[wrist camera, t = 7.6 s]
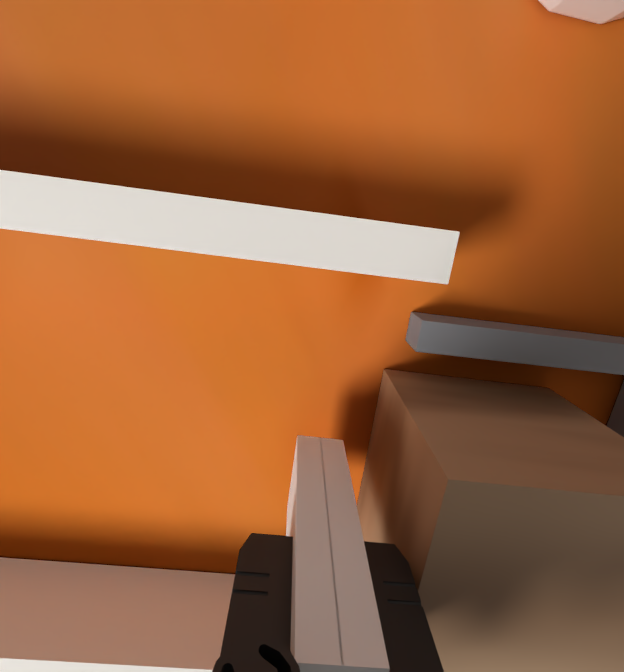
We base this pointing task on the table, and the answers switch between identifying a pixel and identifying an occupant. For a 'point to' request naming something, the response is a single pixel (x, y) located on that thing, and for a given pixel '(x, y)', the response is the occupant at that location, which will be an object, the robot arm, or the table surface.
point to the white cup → (587, 9)
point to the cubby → (149, 583)
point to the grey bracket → (521, 347)
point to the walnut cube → (501, 521)
